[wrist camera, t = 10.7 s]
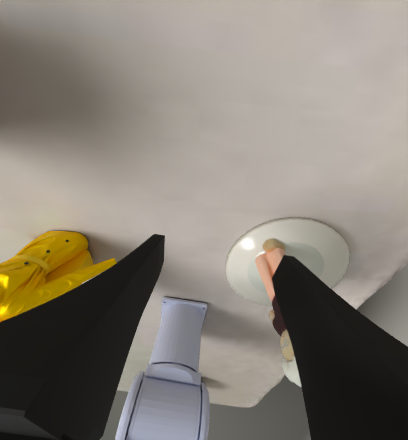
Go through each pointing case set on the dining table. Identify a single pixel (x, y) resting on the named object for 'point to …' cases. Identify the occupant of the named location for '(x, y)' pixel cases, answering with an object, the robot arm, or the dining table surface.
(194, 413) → the robot arm
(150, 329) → the dining table surface
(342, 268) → the dish
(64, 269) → the yellow irregular piece
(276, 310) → the grandmother figurine
